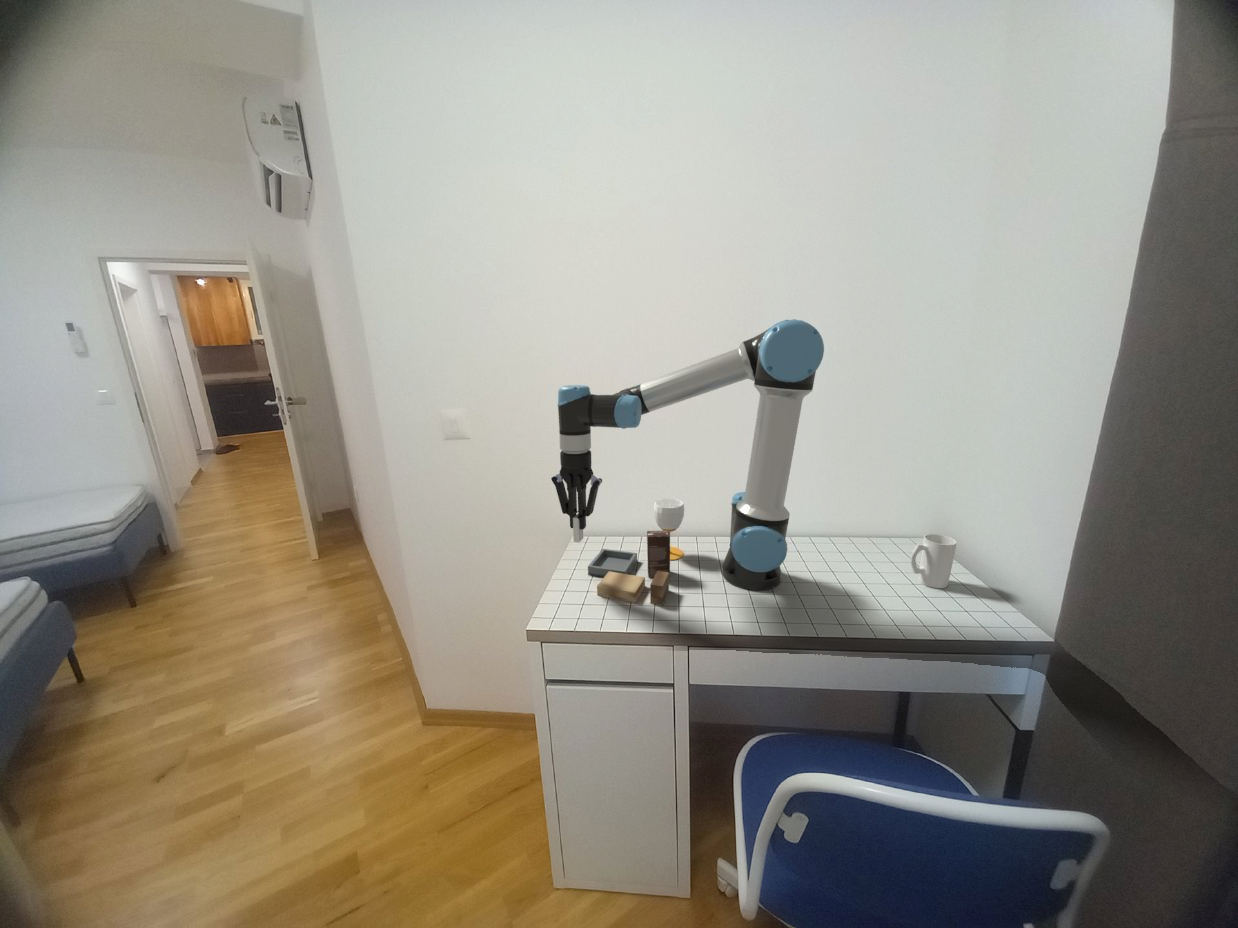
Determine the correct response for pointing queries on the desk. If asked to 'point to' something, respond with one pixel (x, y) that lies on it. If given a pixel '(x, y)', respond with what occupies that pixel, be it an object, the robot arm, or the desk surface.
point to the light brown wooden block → (621, 586)
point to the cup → (670, 519)
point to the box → (658, 552)
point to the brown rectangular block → (659, 587)
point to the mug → (934, 560)
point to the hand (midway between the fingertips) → (578, 539)
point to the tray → (612, 562)
